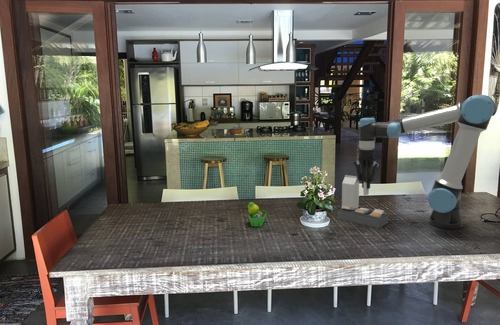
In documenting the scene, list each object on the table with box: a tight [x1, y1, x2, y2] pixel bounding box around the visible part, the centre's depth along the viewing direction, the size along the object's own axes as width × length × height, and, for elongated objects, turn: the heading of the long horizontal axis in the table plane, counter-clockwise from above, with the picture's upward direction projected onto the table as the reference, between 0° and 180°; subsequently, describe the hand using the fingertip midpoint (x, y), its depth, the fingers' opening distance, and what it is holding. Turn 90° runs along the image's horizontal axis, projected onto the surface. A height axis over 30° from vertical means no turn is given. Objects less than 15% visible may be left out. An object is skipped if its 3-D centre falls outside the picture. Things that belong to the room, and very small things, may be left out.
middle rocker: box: [355, 207, 370, 214], centre depth 205 cm, size 4×6×1 cm
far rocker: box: [341, 205, 355, 210], centre depth 211 cm, size 4×6×1 cm
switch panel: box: [336, 207, 389, 229], centre depth 206 cm, size 23×10×5 cm, turn 47°
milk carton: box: [341, 174, 360, 209], centre depth 228 cm, size 7×7×19 cm
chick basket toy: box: [247, 201, 267, 228], centre depth 204 cm, size 11×9×11 cm
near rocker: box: [370, 208, 385, 218], centre depth 200 cm, size 4×6×1 cm
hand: (365, 194), depth 206 cm, fingers closed
